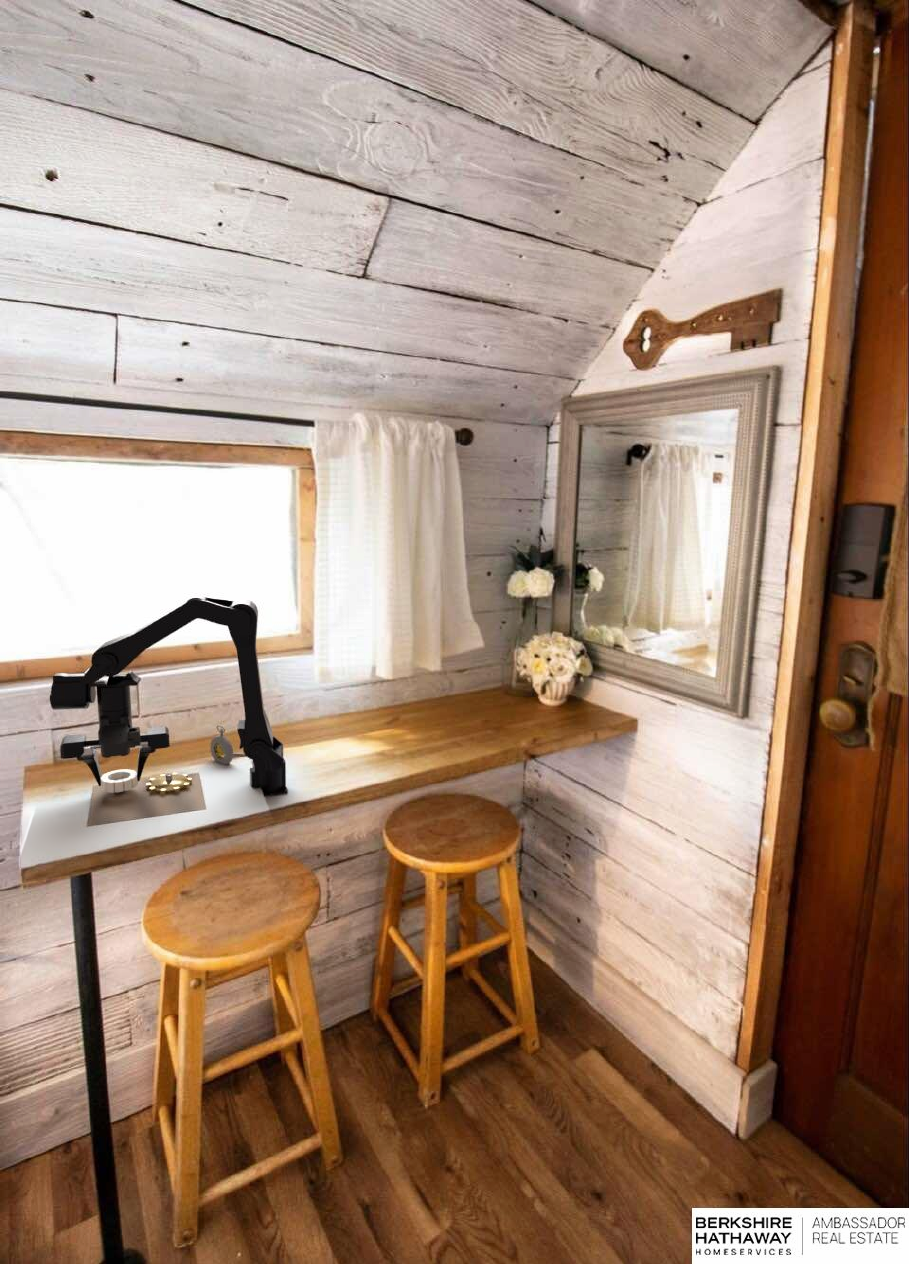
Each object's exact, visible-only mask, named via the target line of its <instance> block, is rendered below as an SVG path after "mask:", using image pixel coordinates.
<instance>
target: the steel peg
mask: <svg viewBox="0 0 909 1264" xmlns="http://www.w3.org/2000/svg"><path fill="white" fill-rule="evenodd" d="M122 779H124V778H117V779H115V780H122ZM125 792H126V791H124V790H123V792H116V793H115V792H114V793H115V794H117V795H119V794H124V793H125Z"/></svg>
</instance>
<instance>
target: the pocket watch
mask: <svg viewBox="0 0 909 1264" xmlns="http://www.w3.org/2000/svg"><path fill="white" fill-rule="evenodd" d="M219 728H220V729H219ZM216 729H217V730H218V732H219V733H220V734H219V735H215V736H214V737H213V738H211V741H210V745H209V746H210V753H211V756H212V758H213V759H214V761H215V762H216V763H220V764H223V765H228V764H230V763H231V762H232V761H233V759H239V758H245V757H246V755H245V754H244V753H234V749H233V748H234V747H233V746H232V744H231V742H230V740H229V739H228V738H227V737H226V736H224V733H225V731H226V728H224V727H223V726H221V725H217V726H216ZM248 759H249V760H251V759H250V758H248Z"/></svg>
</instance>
